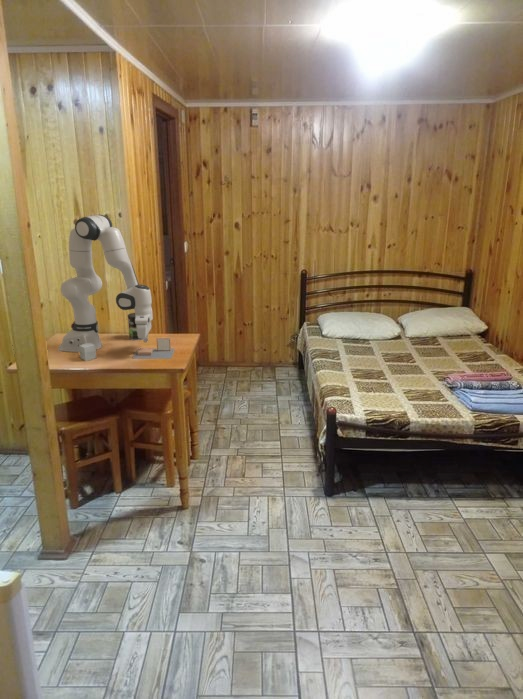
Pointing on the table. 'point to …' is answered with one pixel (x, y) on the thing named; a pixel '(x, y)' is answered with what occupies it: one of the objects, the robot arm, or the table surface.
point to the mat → (155, 355)
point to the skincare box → (87, 351)
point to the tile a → (145, 351)
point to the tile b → (163, 344)
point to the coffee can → (132, 327)
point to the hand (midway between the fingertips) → (145, 341)
